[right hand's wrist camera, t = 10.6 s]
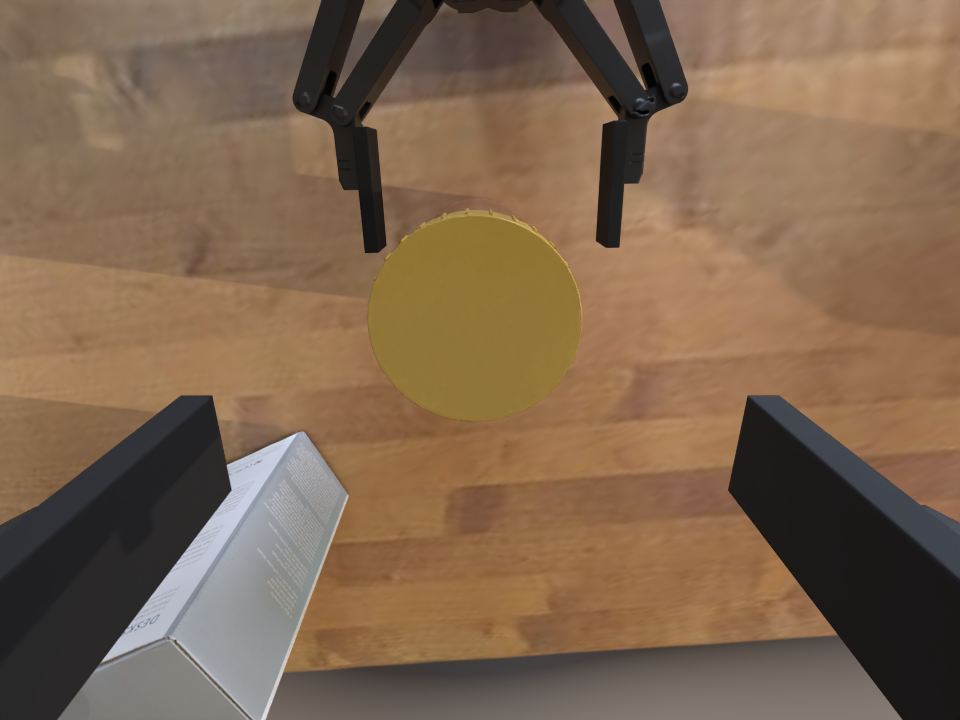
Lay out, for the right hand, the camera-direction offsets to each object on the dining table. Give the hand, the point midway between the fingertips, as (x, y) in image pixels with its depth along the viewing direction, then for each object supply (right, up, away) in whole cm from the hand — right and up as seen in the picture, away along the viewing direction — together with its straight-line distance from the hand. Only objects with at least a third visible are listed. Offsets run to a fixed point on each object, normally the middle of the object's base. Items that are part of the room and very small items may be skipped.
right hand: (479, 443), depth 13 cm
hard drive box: (-20, -10, +31) cm, 38 cm away
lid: (0, +4, +9) cm, 10 cm away
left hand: (+1, +9, +17) cm, 19 cm away
